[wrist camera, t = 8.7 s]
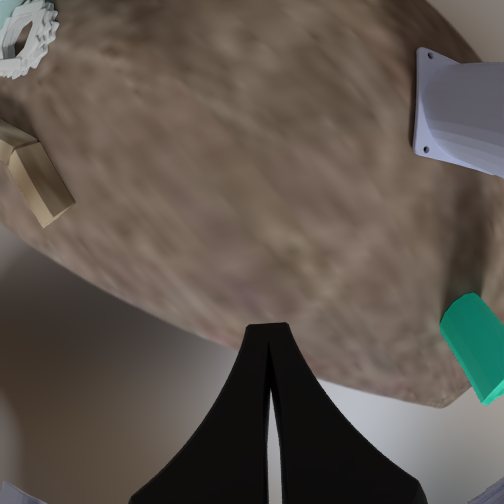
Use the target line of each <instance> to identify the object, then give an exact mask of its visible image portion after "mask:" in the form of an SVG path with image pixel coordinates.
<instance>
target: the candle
mask: <svg viewBox="0 0 504 504" xmlns="http://www.w3.org/2000/svg"><path fill="white" fill-rule="evenodd" d="M440 331H441V334H442V336H443V337H444V339H445V340H446V342H447V343H448V345H449V347H450V348H451V350H452V352H453V353H454V355H455V357H456V358H457V360H458V362H459V363H460V365H461V367H462V369H463V370H464V372H465V374H466V376H467V377H468V379H469V381H470V383H471V385H472V387H473V388H474V390H475V392H476V394H477V396H478V398H479V400H480V402H481V403H482V404H484V405H489V404H490V403H491V402H492V401H493V400H494V399H496V398H498V397H500V396H502V395H504V325H503V324H502V323H501V322H500V320H499V319H498V318H497V317H496V315H495V314H494V313H493V312H492V311H491V309H490V308H489V307H488V306H487V305H486V304H485V302H484V301H483V300H482V299H481V298H480V297H479V296H478V295H477V294H476V293H475V292H473V293H468V294H464V295H463V296H462V297H460V298H459V299H457V300H456V301H455V302H453V304H452V305H451V306H450V307H449V309H448V310H447V311H446V312H445V313H444V316H443V318H442V321H441V323H440Z"/></svg>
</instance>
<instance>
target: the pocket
mask: <svg viewBox="0 0 504 504" xmlns="http://www.w3.org/2000/svg"><path fill="white" fill-rule="evenodd" d="M37 140H38V139H36V138H34V137H33V136H31V135H29V134H27V133H25V132H23V131H22V130H20V129H18V128H16V127H14V126H13V125H11V124H9V123H7V122H5V121H3V120H2V119H0V160H1V161H2V162H4V163H5V164H7V165H8V167H9V169H10V171H11V173H12V175H13V177H14V179H15V181H16V183H17V185H18V187H19V188H20V190H21V192H22V194H23V196H24V197H25V199H26V201H27V202H28V204H29V206H30V208H31V209H32V211H33V213H34V214H35V216H36V217H37V219H38V221H39V222H40V224H41V225H42V227H43V228H44V227H46V226H47V225H48V224H50V223H51V222H53V221H54V220H55V219H57V218H58V217H60V216H61V215H63V214H64V213H65V212H66V211H67V210H68V209H69V208H71V207H72V206H73V205H74V204H75V203H76V202H75V201H74V199H73V198H72V196H71V195H70V193H69V191H68V190H67V188H66V187H65V185H64V183H63V182H62V180H61V178H60V177H59V175H58V173H57V171H56V170H55V168H54V166H53V165H52V163H51V161H50V159H49V157H48V156H47V154H46V152H45V150H44V148H43V146H42V144H41V143H40V142H39V143H37Z"/></svg>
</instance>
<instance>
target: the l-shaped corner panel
mask: <svg viewBox="0 0 504 504" xmlns="http://www.w3.org/2000/svg"><path fill="white" fill-rule="evenodd" d="M23 1H24V0H0V76H2V75H3V77H4V76H7V78H9V77H10V76H11V75H12V79H16V78H17V77H19V76H20V75H23V76H24V75H25V74H27V72H28V70H29V67H32V68H36V67H37V66H38V64H39V62H40V60H41V58H42V57H43V56H44V55H45V54H47V52H48V47H47V46H48V44H49V43H50V42H52V41H54V40H55V38H56V35H55V31H56V29H57V28H58V26H59V24H60V23H59V22H55V18H56V16H57V14H58V11H55V10H54V4H52V3H48V2H46V3H45V0H34V1H32V2H30V0H27V1H26V2H25V3H24V4H23V5H21V4H22V3H23ZM30 21H32V22H33V25H32V28H31V30H30V33H29V36H28V38H27V41H26V44H25V47H24V49H23V50H22V51H21V52H20V53H19V54H18V55H17V56H16V58H15V48H14V44H15V42H16V40H17V38H18V36H19V34H20V32H21V30H22V28H23V27H24V26H25V25H27V24H28V23H29V22H30Z"/></svg>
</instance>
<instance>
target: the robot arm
mask: <svg viewBox="0 0 504 504" xmlns="http://www.w3.org/2000/svg"><path fill="white" fill-rule="evenodd" d="M416 53H417V92H416V113H415V126H414V137H413V151H414V153H415V154H417V155H420V156H425V157H429V158H433V159H438V160H442V161H446V162H450V163H453V164H457V165H461V166H464V167H468V168H471V169H475V170H478V171H481V172H484V173H488V174H491V175H497V176H499V177H502V178H504V62H482V63H466V64H460V63H458V62H456V61H454V60H452V59H450V58H448V57H446V56H443V55H441V54H439V53H436V52H434V51H432V50H429V49H427V48H424V47H420V48H418V49H417V52H416ZM428 54H429V55H430V58H429V57H428ZM424 147H426V151H425V152H424V150H423V149H424ZM270 391H271V392H272V399H273V405H274V412H275V419H276V425H277V431H278V437H279V446H280V461H281V483H282V504H428V503H427V499H426V496H425V494H424V491H423V489H422V487H421V485H420V483H419V481H418V480H417V479H415V478H414V477H412V476H411V475H409V474H408V473H407V472H405V471H404V470H402V469H401V468H400V467H398V466H397V465H396V464H394V463H393V462H392V461H390V460H389V459H388V458H387V457H386V456H384V455H383V454H382V453H381V452H380V451H378V450H377V449H376V448H375V447H374V446H373V445H372V444H371V443H370V442H369V441H368V440H367V439H366V438H365V437H363V435H362V434H361V433H360V432H358V431H357V430H356V429H355V428H354V426H353V425H352V424H351V423H350V422H349V421H348V420H347V419H346V418H345V416H344V415H343V414H342V413H341V412H340V410H339V409H338V408H337V407H336V406H335V404H334V403H333V402H332V400H331V399H330V398H329V396H328V395H327V394H326V392H325V391H324V389H323V388H322V387H321V385H320V384H319V382H318V381H317V379H316V378H315V376H314V375H313V373H312V371H311V370H310V368H309V366H308V364H307V363H306V361H305V359H304V358H303V356H302V354H301V352H300V350H299V348H298V346H297V344H296V342H295V340H294V337H293V335H292V333H291V330H290V327H289V324H287V323H286V322H282V323H267V324H249V325H248V326H247V327H246V330H245V335H244V339H243V342H242V345H241V348H240V351H239V353H238V356H237V358H236V361H235V363H234V365H233V368H232V370H231V372H230V374H229V376H228V379H227V380H226V383H225V385H224V386H223V388H222V390H221V392H220V394H219V396H218V398H217V399H216V401H215V403H214V404H213V406H212V408H211V409H210V411H209V412H208V414H207V415H206V417H205V418H204V420H203V421H202V423H201V424H200V426H199V427H198V428H197V430H196V431H195V432H194V434H193V435H192V436H191V438H190V439H189V440H188V441H187V443H186V444H185V445H184V446H183V448H182V449H181V450H180V451H179V452H178V453H177V454H176V455H175V456H174V457H173V458H172V460H171V461H170V462H169V463H168V464H167V465H166V466H165V467H164V468H163V469H162V470H161V471H160V472H159V473H158V474H157V475H156V476H155V477H154V478H152V479H151V480H150V481H149V482H148V483H147V484H145V485H144V486H143V487H142V488H141V489H139V490H138V491H137V492H136V493H135V494H133V496H131V498H130V500H129V503H128V504H269V490H268V460H267V441H268V425H269V409H270ZM0 504H46V503H45V502H43V501H41V500H39V499H37V498H35V497H32V496H30V495H28V494H27V493H25V492H23V491H21V490H20V489H18V488H17V487H15V486H13V485H12V484H10V483H9V482H7V481H4V482H3V486H2V489H1V492H0ZM466 504H504V477H503V478H501V479H500V480H499V481H498V482H496V483H495V484H493V485H492V486H490V487H489V488H487V489H486V490H485V492H483V493H482V494H480V495H479V496H477V497H476V498H474V499H472V500H471V501H469V502H467V503H466Z"/></svg>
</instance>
